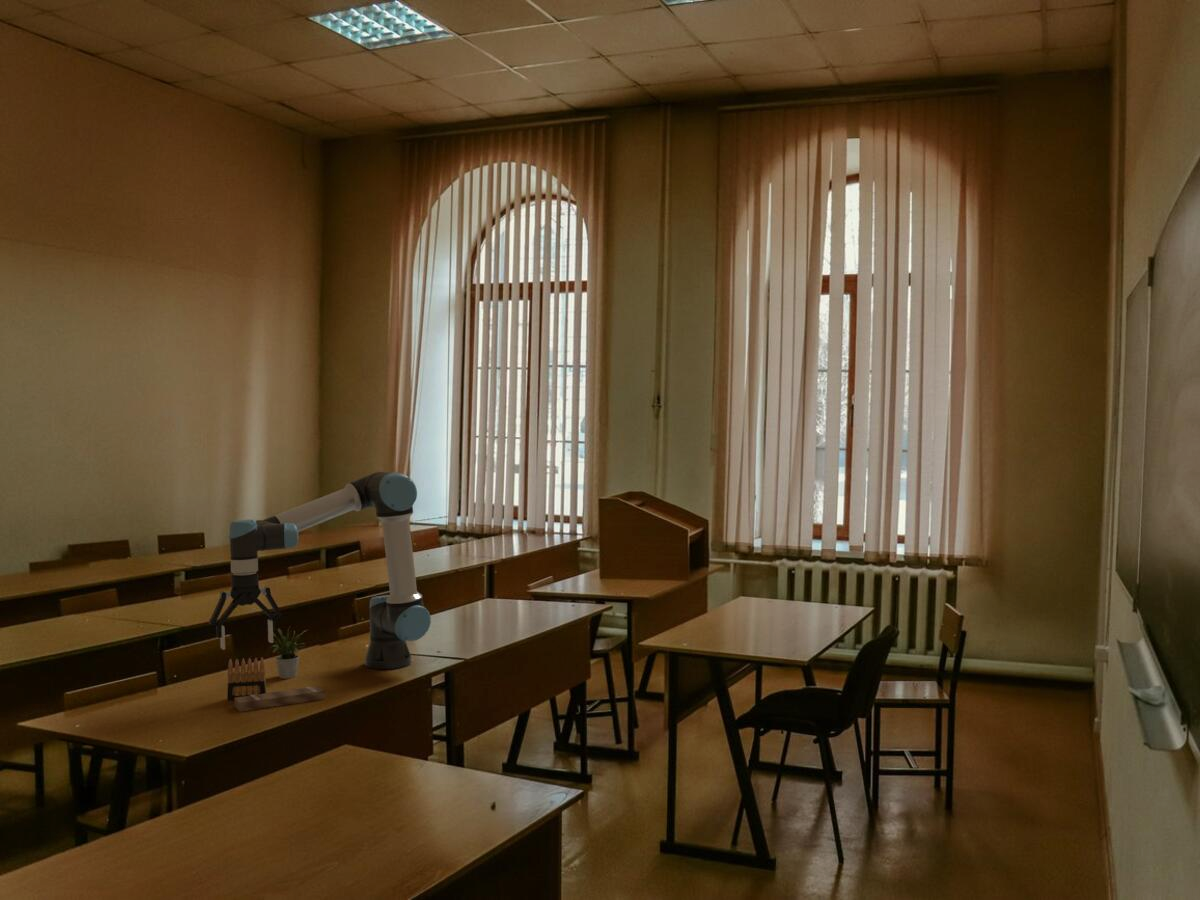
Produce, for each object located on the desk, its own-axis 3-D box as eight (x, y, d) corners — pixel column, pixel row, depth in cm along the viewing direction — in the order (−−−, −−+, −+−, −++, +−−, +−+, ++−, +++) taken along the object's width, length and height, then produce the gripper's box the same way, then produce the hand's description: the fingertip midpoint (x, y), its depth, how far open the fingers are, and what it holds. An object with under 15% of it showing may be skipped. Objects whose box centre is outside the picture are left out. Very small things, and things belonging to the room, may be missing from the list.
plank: (318, 694, 304) (318, 685, 304) (325, 699, 298) (324, 690, 298) (234, 706, 291) (234, 697, 291) (239, 711, 286) (239, 702, 285)
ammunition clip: (266, 696, 302) (265, 656, 302) (265, 698, 300) (265, 657, 300) (228, 699, 299) (227, 658, 299) (227, 700, 298) (226, 659, 297)
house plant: (252, 681, 319) (251, 629, 319) (271, 671, 333) (270, 621, 333) (295, 682, 318) (295, 630, 317) (313, 672, 332) (312, 621, 331)
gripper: (284, 567, 309) (286, 637, 309) (196, 575, 295) (199, 648, 296) (291, 570, 302) (293, 641, 303) (202, 579, 289) (204, 653, 290)
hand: (247, 645), depth 300 cm, fingers open, 13 cm apart
